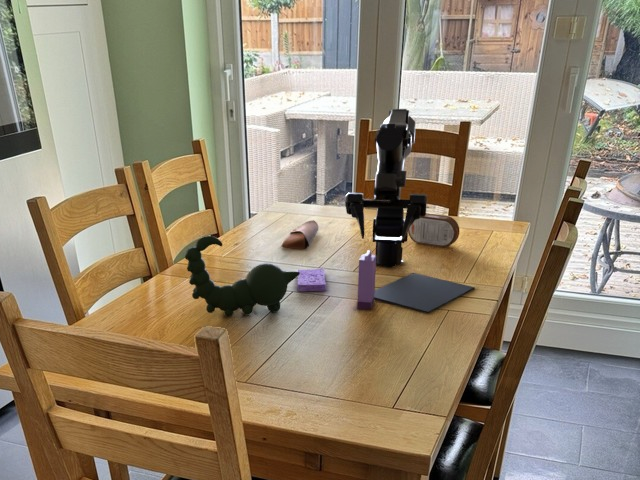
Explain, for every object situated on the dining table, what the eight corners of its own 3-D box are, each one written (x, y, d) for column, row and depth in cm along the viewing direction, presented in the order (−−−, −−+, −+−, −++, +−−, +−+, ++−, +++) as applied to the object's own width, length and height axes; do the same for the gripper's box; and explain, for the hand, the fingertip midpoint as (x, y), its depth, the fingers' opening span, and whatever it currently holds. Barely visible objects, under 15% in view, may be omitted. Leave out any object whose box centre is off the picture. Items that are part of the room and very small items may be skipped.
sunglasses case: (291, 230, 222) (302, 211, 218) (310, 242, 223) (321, 224, 219) (280, 247, 207) (291, 227, 203) (300, 260, 208) (312, 241, 204)
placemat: (364, 296, 173) (364, 294, 173) (412, 274, 186) (413, 272, 186) (428, 313, 163) (428, 311, 163) (474, 289, 176) (475, 287, 176)
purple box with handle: (360, 302, 170) (362, 249, 163) (374, 303, 170) (376, 250, 162) (357, 309, 167) (359, 255, 160) (370, 310, 166) (373, 256, 159)
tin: (458, 247, 205) (461, 216, 200) (454, 249, 203) (457, 219, 198) (409, 240, 212) (411, 210, 207) (405, 242, 210) (407, 213, 205)
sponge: (297, 291, 177) (297, 284, 176) (297, 275, 188) (297, 268, 187) (325, 291, 177) (325, 284, 176) (324, 275, 187) (324, 267, 186)
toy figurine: (196, 328, 164) (304, 315, 163) (180, 245, 153) (296, 230, 152) (198, 313, 171) (302, 300, 170) (183, 233, 161) (294, 219, 160)
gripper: (347, 155, 162) (339, 220, 160) (430, 156, 159) (424, 222, 157) (350, 182, 173) (343, 243, 171) (428, 183, 170) (422, 246, 168)
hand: (382, 238), depth 166 cm, fingers open, 9 cm apart
